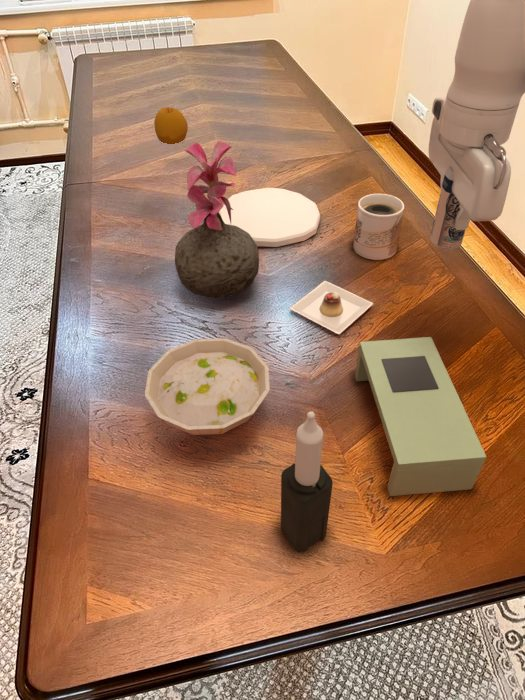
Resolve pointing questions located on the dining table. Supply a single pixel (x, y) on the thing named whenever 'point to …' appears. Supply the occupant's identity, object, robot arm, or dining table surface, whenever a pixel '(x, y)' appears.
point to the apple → (170, 125)
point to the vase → (214, 234)
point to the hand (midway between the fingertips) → (452, 216)
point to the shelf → (420, 417)
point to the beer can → (446, 217)
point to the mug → (378, 226)
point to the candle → (306, 490)
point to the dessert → (331, 307)
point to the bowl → (207, 385)
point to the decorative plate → (273, 216)
